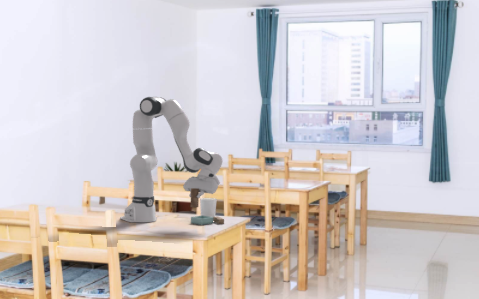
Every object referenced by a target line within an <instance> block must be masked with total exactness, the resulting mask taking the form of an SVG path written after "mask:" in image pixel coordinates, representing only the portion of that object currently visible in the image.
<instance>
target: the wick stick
mask: <svg viewBox="0 0 479 299" xmlns="http://www.w3.org/2000/svg"><path fill="white" fill-rule="evenodd" d="M199 193H200V192H199V189H198V188H191V197H190V208H199V202H200V200H199V199H200V198H196V195H197V194H199Z"/></svg>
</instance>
